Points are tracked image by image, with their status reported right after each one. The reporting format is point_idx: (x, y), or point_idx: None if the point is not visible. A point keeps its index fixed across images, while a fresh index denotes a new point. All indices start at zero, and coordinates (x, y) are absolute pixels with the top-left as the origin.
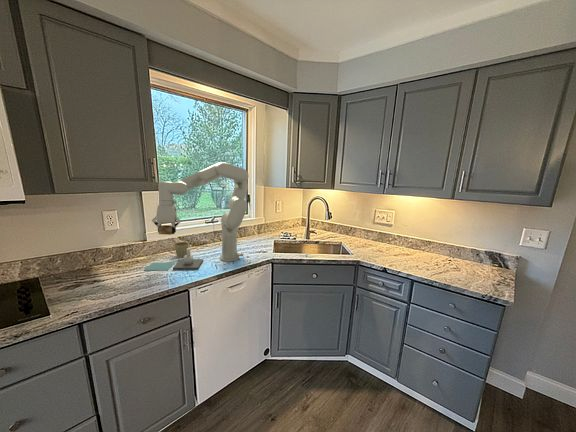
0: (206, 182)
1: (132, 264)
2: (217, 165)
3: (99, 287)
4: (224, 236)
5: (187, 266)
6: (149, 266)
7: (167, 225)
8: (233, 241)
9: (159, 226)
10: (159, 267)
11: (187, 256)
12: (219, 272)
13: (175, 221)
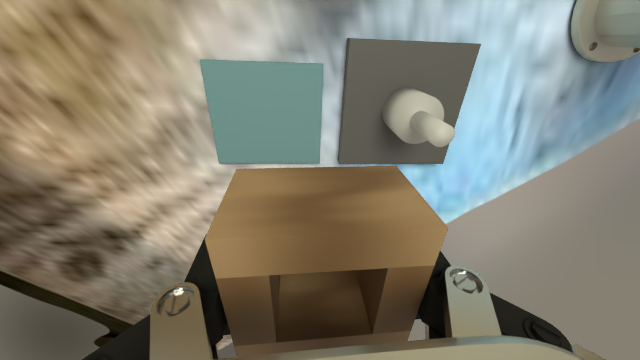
0: None
1: (101, 75)
2: None
3: (168, 268)
4: None
5: (399, 151)
6: (218, 120)
7: (313, 255)
8: None
9: (215, 330)
10: (272, 135)
11: (414, 130)
12: (510, 183)
13: (537, 349)
